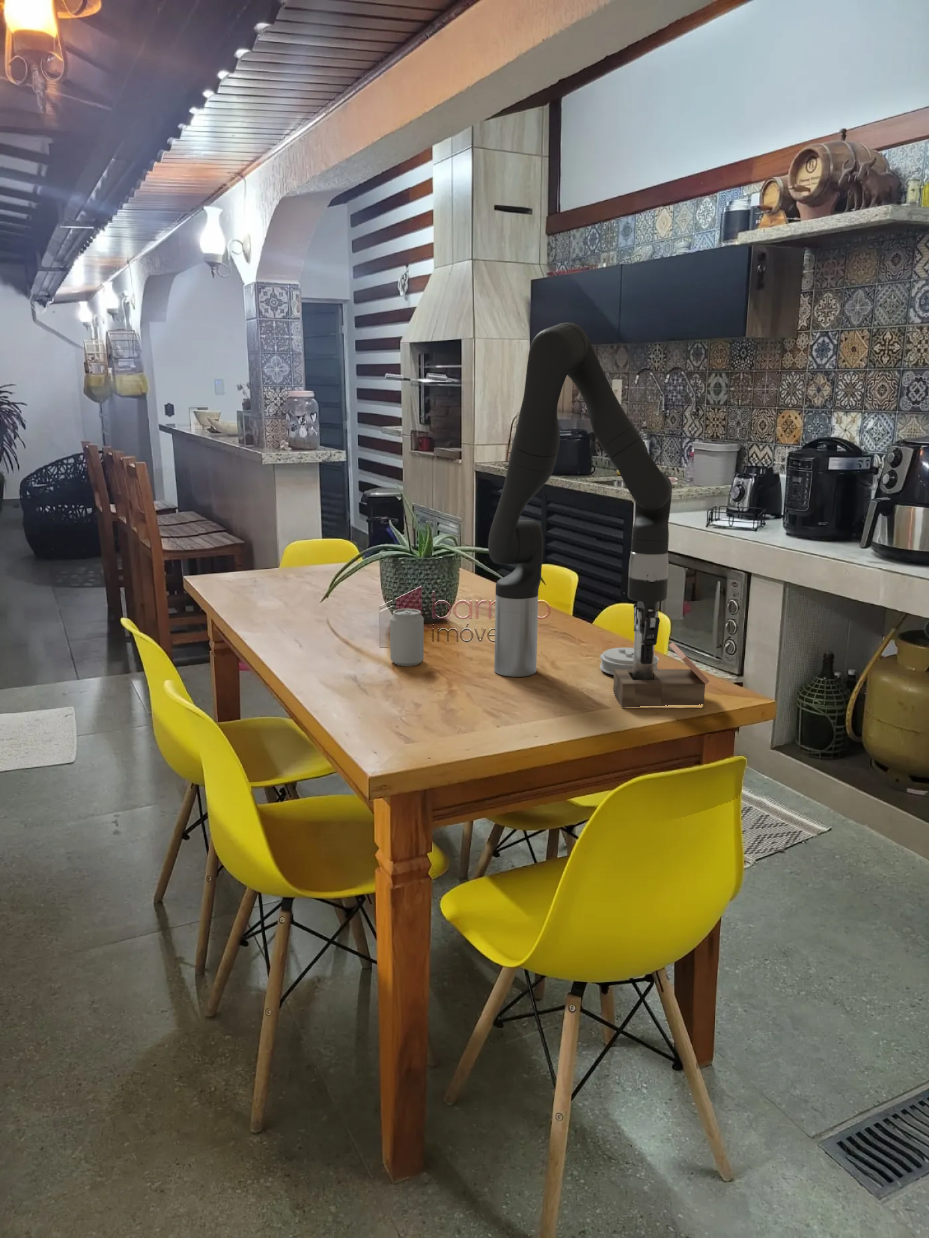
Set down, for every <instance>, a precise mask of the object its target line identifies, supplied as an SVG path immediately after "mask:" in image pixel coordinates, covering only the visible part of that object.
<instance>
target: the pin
mask: <svg viewBox="0 0 929 1238" xmlns="http://www.w3.org/2000/svg"><path fill="white" fill-rule="evenodd" d="M642 628H643V629H644V628H645V627H642ZM647 638H651V635H648V636H647ZM633 639H634V640H633V641H634V642H633V648H634V656H633V675H632V679H633V680H653V667H654V654H655V650H656V649H655V648H656V647H655V646H656V645H653V656H652V663H651V664H642V663H641V662H640V656H641V634H640V633H639V632H638V623H636V624H635V633H634V638H633Z"/></svg>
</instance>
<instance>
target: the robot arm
mask: <svg viewBox="0 0 929 1238" xmlns="http://www.w3.org/2000/svg"><path fill="white" fill-rule="evenodd" d="M525 372H526V375H525V383H524V391H523V397H522V400H521V401H522V402H521V406H520V410H519V415H518V420H517V422H516V429H515V433H514V435H513V436H514V437H513V440H512V445H511V449H510V452H509V460H508V465H507V471H506V475H505V479H504V482H503V483H504V484H503V488H502V491H501V495H500V498H499V500H498V501H499V502H498V504H497V508H496V511H495V514H494V516H493V519H492V520H493V521H492V523H491V526H490V528H489V529H490V531H489V533H488V541H487V549H488V553H489V554H488V555H489V558H490V559H491V560H492V562H493V563H495V564H498V565H503V566H504V565H505V566H506V565H516V567H515V569H514V570H513V571H512V572H510V573H509V574H508V575H506V576H504V577H501V578H500V579H498V580H497V581H496V583H495V598H494V599H495V603H494V605H495V611H494V612H495V613H494V615H495V616H494V617H495V618H494V619H495V620H494V663H493V664H494V672H495V673H496V674H498V675H500V676H505V677H512V678H513V677H518V678H519V677H528V676H532V675H535V674H536V673H537V659H538V658H537V656H538V655H537V654H538V623H539V622H538V620H539V619H538V617H539V616H538V613H539V589H540V588H539V587H540V585H541V581H542V568H543V567H542V566H543V557H544V556H543V555H544V533H543V530H542V527H541V526H540V524H539V523H538V522H537V521H536V520H534V519H520V518H521V515H522V512H523V511H524V509H525V508H526V506H527V505H528V503H529V502H530V501H531V500H532V499H534V497H535V496H536V495H537V493H539V491H540V490H541V489H542V488H543V487H544V485H546V483H547V482H548V481H549V479H550V478H551V476H552V474H553V473H554V469H555V466H556V462H557V458H558V454H559V449H560V446H561V445H560V443H561V435H560V434H561V432H560V424H559V419H558V407H559V406H558V405H559V401H560V397H561V393H562V389H563V387H564V383H565V381H566V379H567V377H569V379H570V380H571V381H572V383H574V385H575V386H576V388H577V389H578V391H579V393H580V395H581V397H582V399H583V401H584V403H585V408H586V410H587V414H588V417H589V421H590V422H589V423H590V425H591V428H592V431H593V433H594V436H595V438H596V440H597V441H598V444H599V445H600V447H601V448H602V449H603V451H604V452H605V454H606V456H607V457H608V458H609V459H610V461H611V463H612V464H613V465H614V467H615V468H616V469H617V470H618V473H619V475H620V477H621V479H622V481H623V483H624V485H625V486H626V488H627V490H628V492H629V493H630V495H631V497H632V498H633V499H634V501H635V503H634V506H635V507H634V523H633V526H632V531H631V543H630V545H631V546H630V556H629V562H628V581H627V582H628V583H627V598H628V599H629V600H632V601H634V602H636V603H634V604H633V607H632V608H633V622H634V623H633V632H634V634H635V624H636V623H638V632H639V633H640V634H641V656H640V662H641V663H642V664H651V663H652V656H653V645H655V646H656V645H657V643H658V635H659V629H660V628H659V627H660V621H661V620H660V617H659V610H658V609H657V605H656V604H657V603H658V602H664V601H666V599H667V597H668V583H669V567H670V566H669V565H670V564H669V541H670V534H669V533H670V531H669V520H670V513H671V506H672V505H671V504H672V495H673V485H672V481H671V479H670V478H669V476H668V475H667V474H666V473H665V472H663V471H661V470H660V469H659V467H658V465H657V463H656V462H655V461H654V460H653V458H652V456H651V455H650V453H649V450H648V448H647V445H646V442H645V441H644V440H643V438H642V437H641V435H640V433H639V432H638V430H637V429H636V427H635V425H634V424H633V422H632V421H631V420H630V418H629V417H628V415H627V414H626V412H625V411H624V408H623V407H622V404H621V403H620V402H619V400H618V398H617V396H616V394H615V393H614V392H615V391H614V390H613V389H612V387H611V384H610V382H609V380H608V378H607V376H606V374H605V371H604V369H603V368H602V365H601V364H600V361H599V358H598V356H597V354H596V351H595V349H594V347H593V345H592V343H591V341H590V338H589V336H588V335H587V334H586V332H585V331H584V329H583V328H581V327H580V326H579V325H578V324H576V323H573V322H568V321H567V322H562V323H557V324H555V325H553V326H549V327H547V328H545V329H543V330H541V331H540V332H538V333H537V334H536V335H535V336H534V338H533V340H532V342H531V343H530V346H529V351H528V356H527V364H526V371H525ZM642 627H645V628H644V629H643V628H642ZM648 635H651V638H647V636H648Z"/></svg>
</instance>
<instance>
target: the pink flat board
mask: <svg viewBox="0 0 929 1238" xmlns="http://www.w3.org/2000/svg"><path fill="white" fill-rule="evenodd" d="M668 646H669V647H670V648H671V650H673V652H674V653H675V654H676V655H677V656H678V657H679V659H680V660H681V661H682V662H683V663H685V665H686V666H688V669H691V670H692V671H693V672H694V673H695V674H696V675H697V676H698V677H699V678H700V679H701V680H702V681H703V682H704V683H705V685H708V683H709V682H710V680H709V678H708V677H706V674H704V673H703V672H702V671H701V670H700V669H699V668H698V666H696V664H695V663H694V662H693V661H692V660H691V659H690V658H689V657H688V656H687V655H686V654H685V653H684V652H683V651H682V650H681V649H680V648H679V646H678V645H676V643H674V642H673V641H672V642H671V643H670V644H669V645H668Z"/></svg>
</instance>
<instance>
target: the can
mask: <svg viewBox="0 0 929 1238" xmlns="http://www.w3.org/2000/svg"><path fill="white" fill-rule="evenodd" d="M392 613H393V615H391V616H390V618H389V625H390V627H389V630H390V631H389V632H390V634H389V635H390V638H389V639H390V640H389V641H390V642H389V643H390V651H389V652H390V660H391V661H392V662H393V664H394V663H395V664H394V665H396V664H397V666H400V665H401V666H400V667H413V665H414V666H417V665H419V664H420V663H421V662H422V661H423V660H424V658H425V657H424V648H425V647H424V643H425V642H424V640H425V639H424V638H425V637H424V634H425V633H424V631H425V629H424V628H425V627H424V626H425V625H424V620H425V618H424V617H423V616H422V615H421V613H422V612H421V610H419V609H415V608H398V609H395V610H393V611H392Z"/></svg>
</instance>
